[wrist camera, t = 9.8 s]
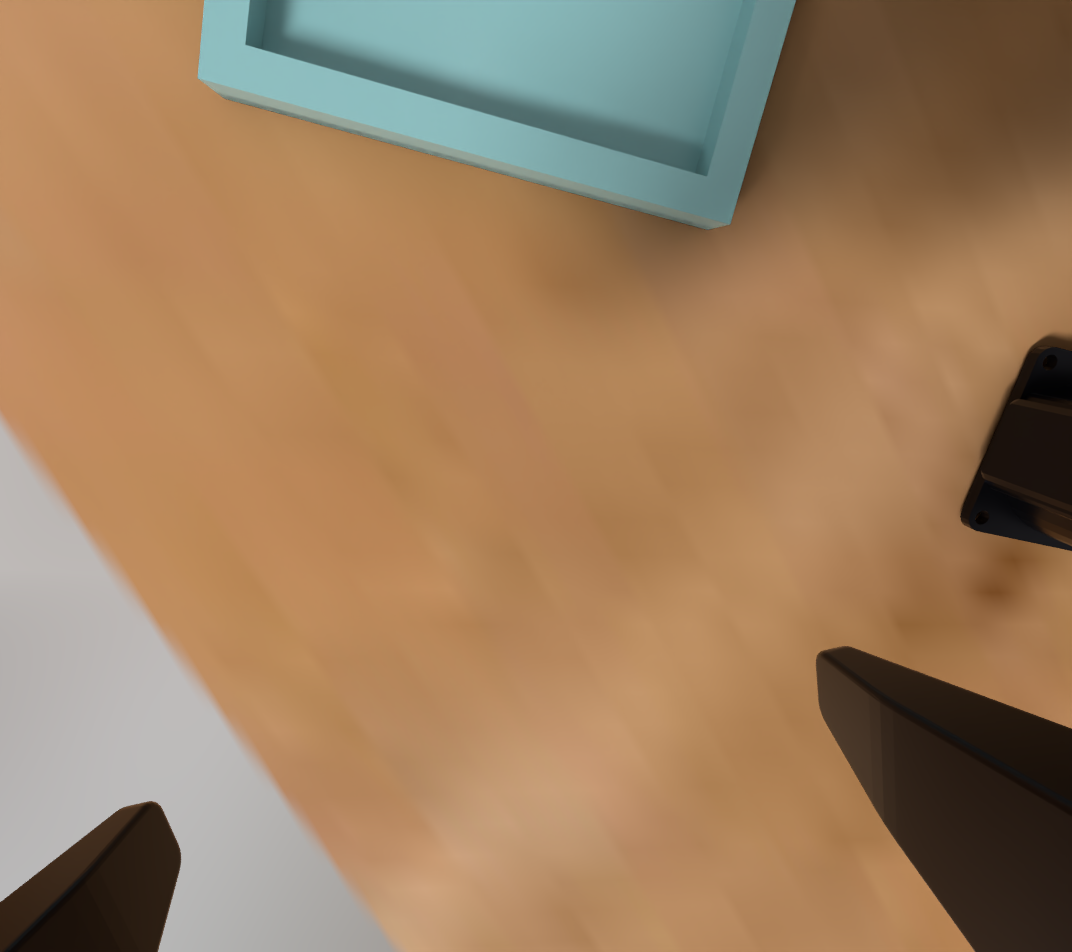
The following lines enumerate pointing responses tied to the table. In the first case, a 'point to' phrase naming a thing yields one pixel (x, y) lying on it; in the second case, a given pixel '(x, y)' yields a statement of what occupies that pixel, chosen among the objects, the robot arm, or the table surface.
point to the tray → (523, 86)
